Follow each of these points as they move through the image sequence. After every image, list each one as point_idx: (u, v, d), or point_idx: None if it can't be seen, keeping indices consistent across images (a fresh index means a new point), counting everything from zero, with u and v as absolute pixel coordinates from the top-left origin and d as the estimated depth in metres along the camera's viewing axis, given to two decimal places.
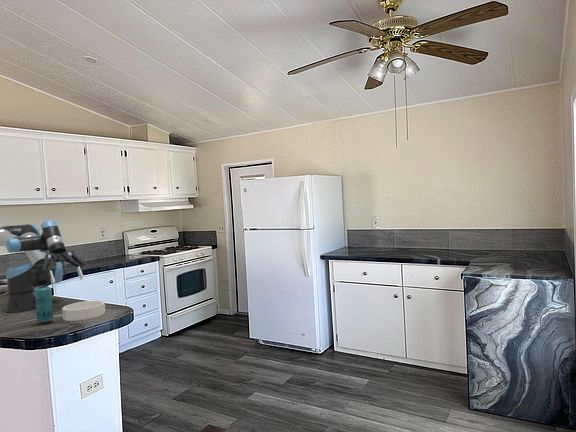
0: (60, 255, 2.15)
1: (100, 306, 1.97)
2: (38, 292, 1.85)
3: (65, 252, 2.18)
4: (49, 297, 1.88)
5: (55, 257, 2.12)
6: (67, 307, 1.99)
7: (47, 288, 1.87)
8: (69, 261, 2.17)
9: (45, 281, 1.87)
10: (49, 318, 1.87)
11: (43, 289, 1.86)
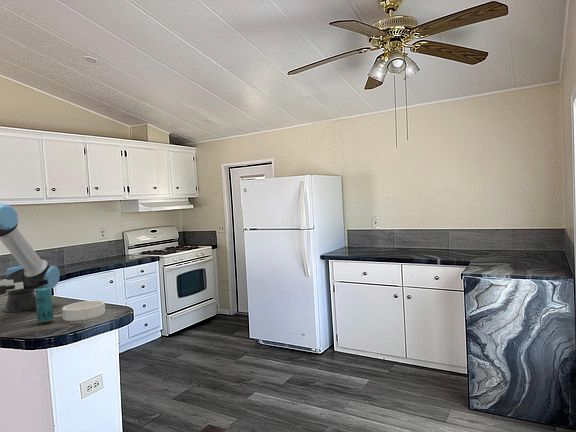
0: None
1: (100, 306, 1.97)
2: (38, 292, 1.85)
3: None
4: (49, 297, 1.88)
5: None
6: (67, 307, 1.99)
7: (47, 288, 1.87)
8: None
9: (45, 281, 1.87)
10: (49, 318, 1.87)
11: (43, 289, 1.86)
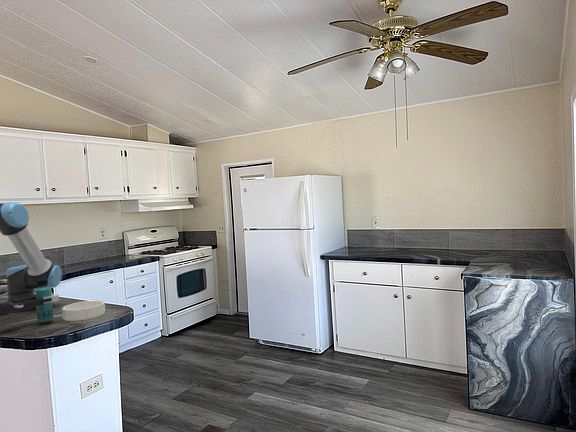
0: None
1: (100, 306, 1.97)
2: (38, 292, 1.85)
3: (13, 308, 1.77)
4: None
5: None
6: (67, 307, 1.99)
7: (47, 288, 1.88)
8: None
9: (45, 281, 1.87)
10: (49, 318, 1.87)
11: (43, 289, 1.86)
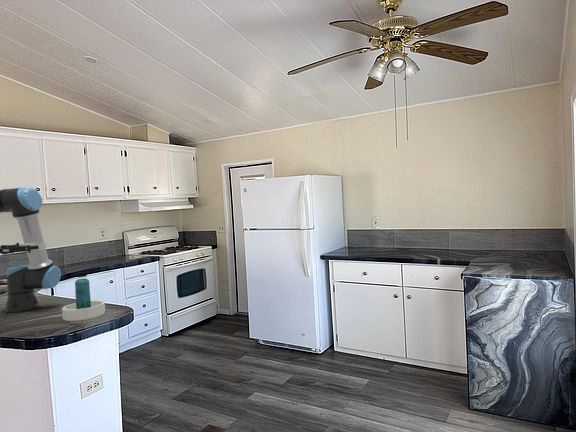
0: None
1: (100, 306, 1.97)
2: (78, 283, 1.95)
3: (2, 252, 1.79)
4: (88, 288, 1.98)
5: None
6: (67, 307, 1.99)
7: (86, 280, 1.97)
8: None
9: (84, 274, 1.97)
10: None
11: (82, 281, 1.96)
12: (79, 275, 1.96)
